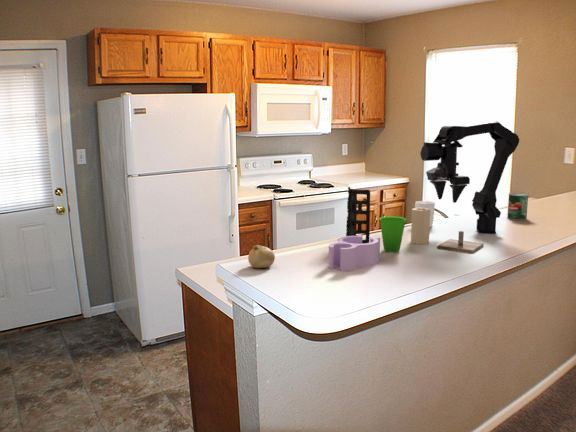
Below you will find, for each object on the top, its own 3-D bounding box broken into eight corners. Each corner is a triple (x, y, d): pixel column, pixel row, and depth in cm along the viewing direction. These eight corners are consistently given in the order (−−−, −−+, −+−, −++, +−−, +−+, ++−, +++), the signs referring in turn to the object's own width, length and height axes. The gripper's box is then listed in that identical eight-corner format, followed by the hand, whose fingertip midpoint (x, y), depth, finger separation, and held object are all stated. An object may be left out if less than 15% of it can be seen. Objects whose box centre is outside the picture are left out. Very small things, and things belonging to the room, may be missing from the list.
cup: (406, 248, 176) (407, 217, 174) (403, 255, 167) (404, 222, 165) (380, 246, 179) (381, 215, 177) (376, 253, 170) (377, 220, 168)
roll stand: (449, 241, 185) (450, 226, 184) (483, 246, 178) (484, 230, 177) (437, 248, 176) (437, 232, 175) (472, 253, 169) (473, 237, 168)
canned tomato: (527, 218, 228) (529, 193, 226) (525, 220, 222) (527, 195, 220) (508, 216, 233) (510, 192, 231) (505, 219, 226) (507, 194, 224)
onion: (260, 262, 161) (260, 240, 159) (280, 266, 156) (280, 243, 154) (243, 267, 154) (242, 245, 153) (262, 272, 149) (262, 249, 148)
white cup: (432, 224, 216) (433, 201, 215) (435, 228, 209) (436, 204, 207) (413, 224, 217) (413, 200, 215) (415, 227, 209) (416, 203, 208)
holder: (375, 244, 182) (377, 188, 179) (363, 248, 177) (364, 190, 173) (350, 239, 190) (350, 186, 186) (338, 243, 184) (338, 188, 181)
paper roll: (420, 239, 189) (421, 207, 187) (432, 242, 184) (434, 209, 182) (407, 241, 187) (408, 208, 184) (419, 244, 181) (420, 211, 179)
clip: (354, 274, 147) (354, 251, 146) (318, 267, 155) (318, 245, 154) (386, 259, 163) (387, 238, 162) (352, 253, 170) (353, 233, 169)
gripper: (416, 159, 198) (415, 199, 201) (445, 162, 181) (443, 206, 183) (440, 157, 201) (439, 197, 204) (471, 161, 184) (469, 203, 187)
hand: (447, 200), depth 195 cm, fingers open, 9 cm apart
